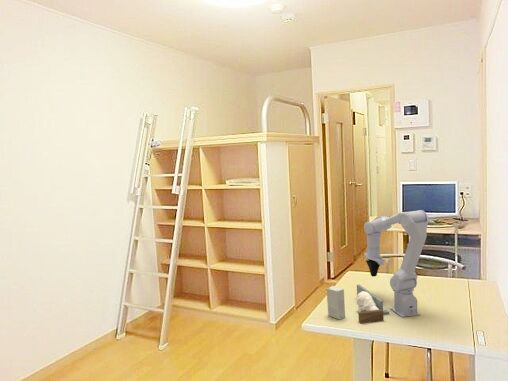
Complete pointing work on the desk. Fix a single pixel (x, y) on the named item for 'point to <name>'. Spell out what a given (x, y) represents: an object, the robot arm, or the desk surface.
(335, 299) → the skincare box
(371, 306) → the white lumpy rounded piece
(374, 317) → the stop bar
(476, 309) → the desk surface
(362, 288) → the screen
